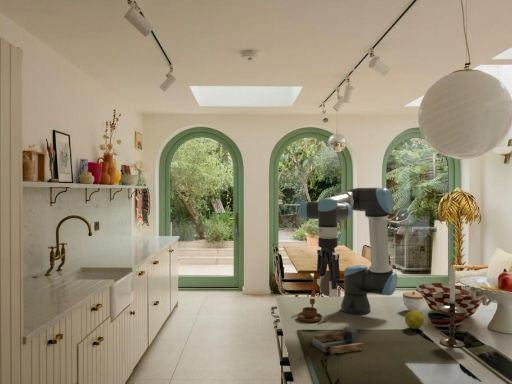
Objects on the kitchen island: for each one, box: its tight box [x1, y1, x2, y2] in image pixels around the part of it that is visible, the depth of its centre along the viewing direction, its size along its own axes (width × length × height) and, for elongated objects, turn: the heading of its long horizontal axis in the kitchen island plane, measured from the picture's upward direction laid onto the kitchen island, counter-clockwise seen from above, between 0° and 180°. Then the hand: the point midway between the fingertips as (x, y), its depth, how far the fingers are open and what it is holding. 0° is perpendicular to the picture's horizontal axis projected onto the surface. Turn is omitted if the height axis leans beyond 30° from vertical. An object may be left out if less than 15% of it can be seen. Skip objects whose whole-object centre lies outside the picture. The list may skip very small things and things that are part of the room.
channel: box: [312, 331, 364, 355], centre depth 168 cm, size 14×14×3 cm
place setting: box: [291, 298, 329, 325], centre depth 209 cm, size 18×20×6 cm
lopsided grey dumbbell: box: [312, 326, 359, 353], centre depth 168 cm, size 16×9×6 cm, turn 110°
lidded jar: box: [402, 290, 425, 312], centre depth 221 cm, size 11×11×9 cm
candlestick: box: [437, 258, 468, 349], centre depth 171 cm, size 11×11×35 cm
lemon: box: [404, 310, 425, 330], centre depth 190 cm, size 11×8×8 cm
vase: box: [319, 272, 338, 297], centre depth 170 cm, size 7×7×9 cm
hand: (328, 294), depth 170 cm, fingers closed on vase, 7 cm apart
